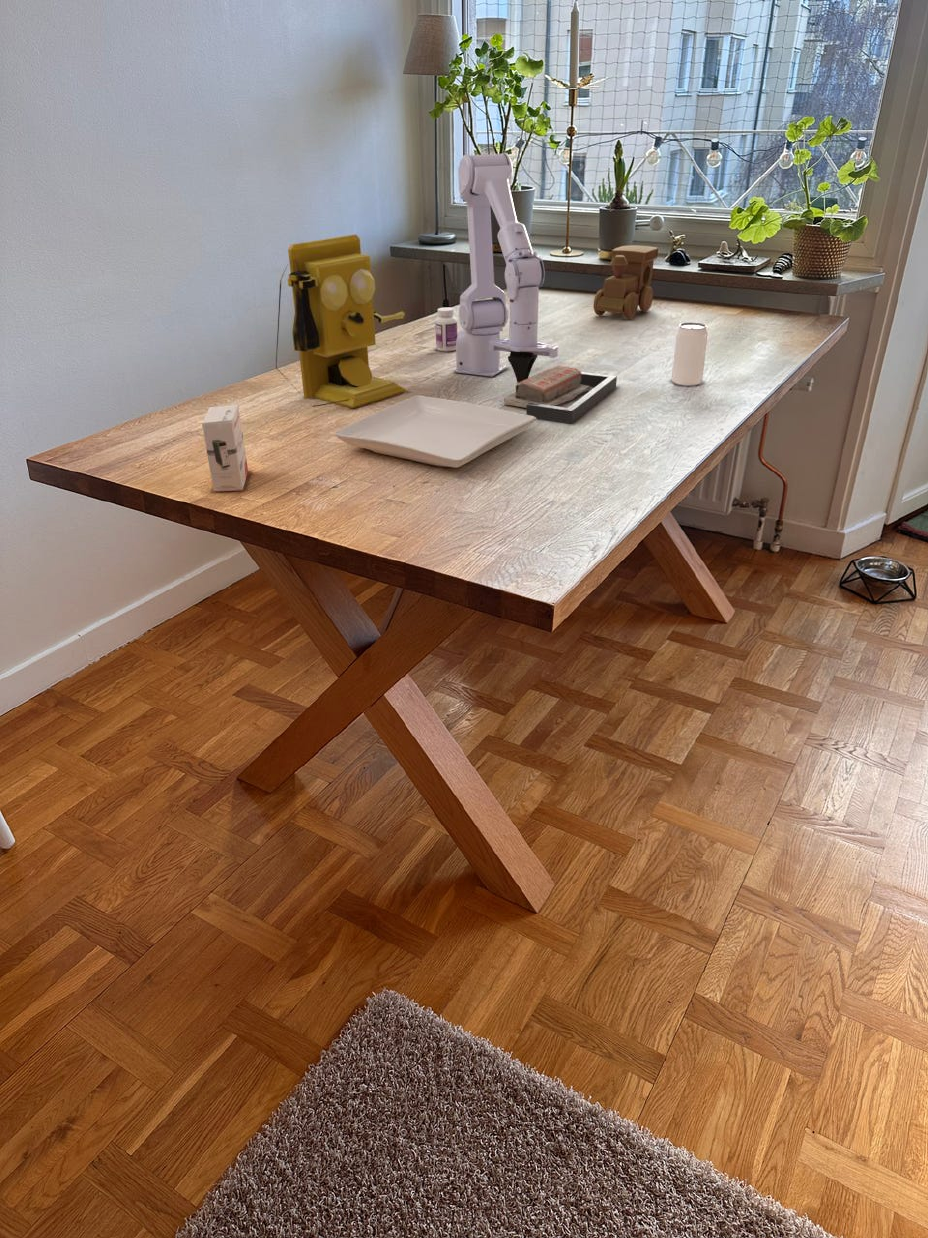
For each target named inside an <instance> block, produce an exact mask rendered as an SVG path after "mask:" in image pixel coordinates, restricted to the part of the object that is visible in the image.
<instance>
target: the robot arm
mask: <svg viewBox="0 0 928 1238" xmlns="http://www.w3.org/2000/svg"><path fill="white" fill-rule="evenodd" d="M513 175H514V167H513V161H512V159H511V157H510V155H509V154H508V153H507V152H502V153H491V154H490V153H489V154H464V155H463V156H462V157H461V159H460V161H459V165H458V169H457V176H458V177H457V179H458V191H459V199H460V200H462V201H464V202H466V214H467V215H466V216H467V230H468V233H467V234H468V247H469V248H468V249H469V261H470V262H469V263H470V280H471V281H470V282H471V284H470V285H469V286H468V287H467V288H466V289H465V290H464V291H463V292H462V293H461V295H460V296H459V308H458V320H459V324H460V327H461V328H462V329H461V330H460V331H459V332H458V333H457V334H458V336H457V340H456V350H455V358H456V359H455V361H456V362H455V363H456V364H455V365H456V369H455V370H454V372H455V373H457V374H458V373H459V374H465V375H466V374H467V375H475V376H482V377H489V378H490V377H491V378H492V377H494V376H496V375H497V374H499V373H501V372H503V371H504V370H506V369H507V366H506V365H501V361H500V358H501V357H500V353H501V352H506V353H510V354H509V355H508V356H507V360H508V362H509V365H510V366H511V368H512V371H513V373H514V376H515V379H516V384H517V383H519V382H521V381H523V380H526V379H528V378H530V374H531V371H532V368H533V366H534V363H535V362H536V360H537V358H538V356H542V357H549V358H551V359H554V358H557V357H558V356H559V345H552V344H547V343H543V342H540V341H539V342H538V331H539V328H538V327H539V297H540V295H539V293H540V289H539V288H542V286H543V285H544V283H545V278H546V271H545V265H544V260H543V259H542V257H541V256H539V255H538V253H537V252H536V251H534V250H533V247H532V244H531V241H530V238H529V234H528V232H527V229H526V225H524V223H521V222H519V221H518V218H517V214H516V210H515V204H514V201H513V196H512V191H511V186H512V182H513ZM491 209H492V211H493V214H494V216H495V219H496V221H497V224H498V226H499V231H498V232H497V235H496V236H497V241H498V243H499V246H500V247H499V248H500V250H501V253H502V256H503V259H504V263H505V270H504V282H505V284H506V293H505V292H504V291H503V290H502V289H501V288H500V287H498V286H497V285H496V284H495V271H494V251H493V232H492V231H493V230H492V212H491ZM506 295H507V298H508V299H509V307H508V305H507V299H506ZM508 322H509V332H508V333H509V336H508V339H501V332H503V330H504V329H503V328H504V327H506V325H507V323H508Z"/></svg>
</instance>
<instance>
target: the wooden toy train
mask: <svg viewBox="0 0 928 1238" xmlns="http://www.w3.org/2000/svg"><path fill="white" fill-rule="evenodd" d="M658 256H659V247H655V246H649V245H639V244H638V245H636V244H635V245H634V244H633V245H632V244H631V245H622V246H619V247H614V249H612V251H611V261H610V266H611V269H612V272H613V275H612V276H609V277H607V278H605V279H604V282H603V288H602V289H599V290H598V291H597V292H596V293H595V296H594V299H593V312H594V314H595V315H597V316H598V317H601V316H603V315H604V314H605V313H615V314H623V316H624V318H625V319H627V320H632V319H633V318H634V317H635V316H636V314H637V311H638V308H639V310H640V311H641V312H642V313H646V312H648V311H649V310H650V309H651V308H652V307H651V306H652V304H653V300H654V291H653V289H652V287H651V286H650V285H651V282H652V276H653V270H654V261H655V260H656V259H658Z"/></svg>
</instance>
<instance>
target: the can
mask: <svg viewBox="0 0 928 1238" xmlns="http://www.w3.org/2000/svg"><path fill="white" fill-rule="evenodd" d="M678 326H679V327H678V329H677V331H676V333H675V341H674V350H673V351H674V352H673V362H672V372H671V381H672V384H675V385H678V386H682V387H694V386H699V385H701V383H702V382H703V376H704V368H705V360H706V354H707V353H706V352H707V343H708V334H709V333H708V330H707V327H708V326H707V324H705V323H702V322H693V321H692V322H691V321H690V322H689V321H687V322H682V323H680V324H679V325H678Z"/></svg>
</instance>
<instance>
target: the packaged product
mask: <svg viewBox="0 0 928 1238" xmlns="http://www.w3.org/2000/svg"><path fill="white" fill-rule="evenodd" d="M581 372H582V371H581V370H580V369H578V368H576V367H575V368H574V367H570V366H569V367H568V366H563V365H557V366H554V367H552V368H550V369H547V370H544V371H542V372H540V373H537V374H535V375H533V376H531V377H530V376H529V377H528V379H526V380H523V381H521V382H519V383H517V382H516V385H515V391H514V392H512V393H510V394H508V395H506V396H503V403H504V405H507V406H513V407H520V408H525V409H527V404H528V403H536V404H543V405H550V406H559V405H562V404H564V403H565V402H569V401H573V400H574V399H575V398H576V397H577V396H579V395H581V394H583V393H585V392H589V391H590V388H591V387H590V386H587V385H582V384H580V382H581V379H582V378H581Z"/></svg>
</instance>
